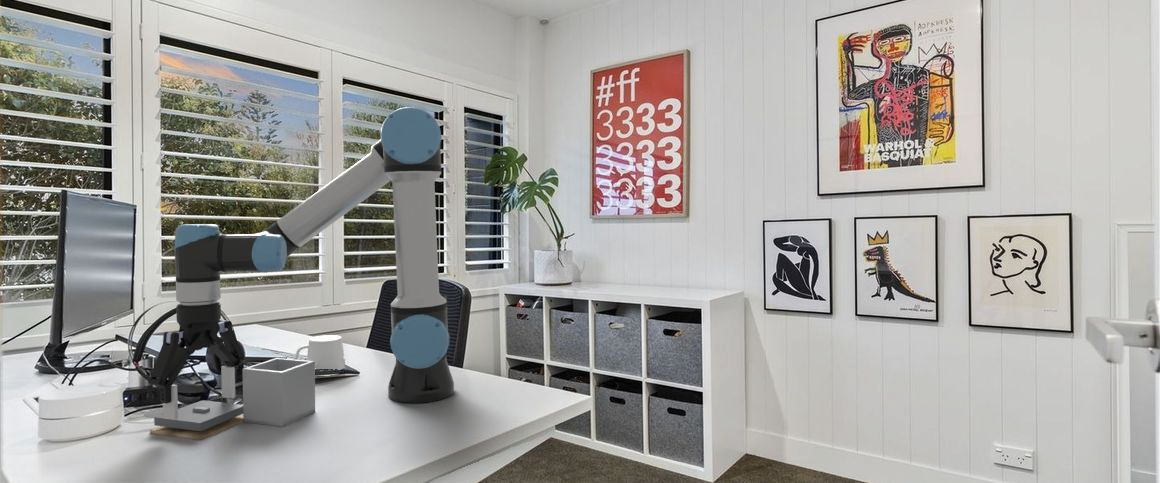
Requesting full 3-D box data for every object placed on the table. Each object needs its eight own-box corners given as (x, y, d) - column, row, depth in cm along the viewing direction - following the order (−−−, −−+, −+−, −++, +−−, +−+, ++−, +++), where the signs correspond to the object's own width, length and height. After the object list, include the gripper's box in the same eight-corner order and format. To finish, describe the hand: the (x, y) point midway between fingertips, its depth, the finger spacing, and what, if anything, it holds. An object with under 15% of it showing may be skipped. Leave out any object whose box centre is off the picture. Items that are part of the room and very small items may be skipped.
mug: (344, 333, 168) (344, 340, 161) (345, 367, 169) (345, 375, 162) (296, 336, 164) (294, 343, 157) (297, 371, 165) (294, 379, 157)
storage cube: (315, 411, 133) (314, 361, 132) (283, 426, 124) (282, 372, 123) (277, 407, 135) (277, 357, 135) (243, 421, 126) (242, 368, 126)
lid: (245, 416, 128) (245, 402, 127) (200, 435, 117) (200, 419, 117) (202, 411, 130) (202, 397, 130) (154, 429, 120) (154, 414, 120)
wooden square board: (249, 418, 128) (249, 416, 128) (200, 439, 116) (200, 436, 116) (202, 413, 131) (202, 410, 131) (150, 433, 120) (150, 430, 119)
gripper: (233, 292, 135) (235, 388, 137) (122, 311, 111) (126, 426, 112) (262, 294, 133) (263, 391, 135) (155, 313, 109) (158, 431, 111)
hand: (201, 407), depth 124 cm, fingers open, 13 cm apart
